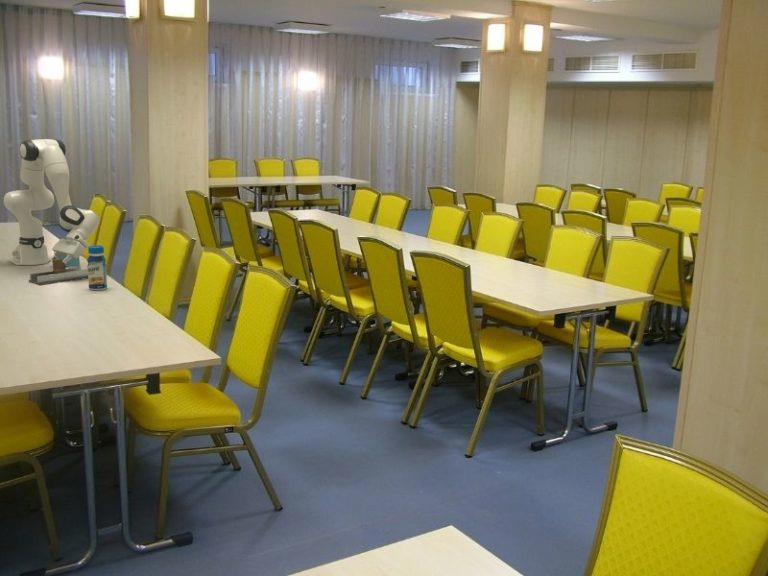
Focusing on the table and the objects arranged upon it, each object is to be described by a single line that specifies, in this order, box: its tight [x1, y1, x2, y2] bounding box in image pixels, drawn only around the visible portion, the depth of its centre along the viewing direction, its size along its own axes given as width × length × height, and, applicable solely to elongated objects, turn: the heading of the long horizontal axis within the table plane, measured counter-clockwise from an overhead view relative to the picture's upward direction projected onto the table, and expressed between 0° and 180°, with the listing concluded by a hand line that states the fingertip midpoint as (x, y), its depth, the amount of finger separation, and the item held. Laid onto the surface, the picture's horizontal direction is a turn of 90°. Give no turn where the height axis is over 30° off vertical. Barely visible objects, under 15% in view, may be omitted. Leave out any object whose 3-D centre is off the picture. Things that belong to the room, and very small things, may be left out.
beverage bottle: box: [86, 244, 108, 291], centre depth 384 cm, size 8×8×20 cm
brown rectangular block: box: [51, 258, 67, 274], centre depth 402 cm, size 3×5×9 cm, turn 140°
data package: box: [57, 254, 81, 268], centre depth 435 cm, size 12×4×12 cm, turn 113°
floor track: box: [28, 266, 88, 286], centre depth 403 cm, size 11×26×4 cm, turn 140°
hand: (58, 261), depth 401 cm, fingers open, 8 cm apart
